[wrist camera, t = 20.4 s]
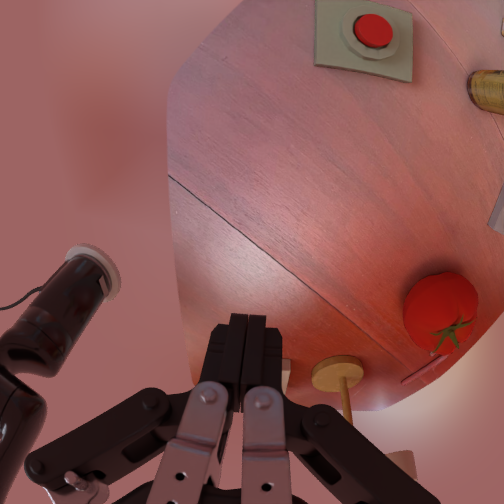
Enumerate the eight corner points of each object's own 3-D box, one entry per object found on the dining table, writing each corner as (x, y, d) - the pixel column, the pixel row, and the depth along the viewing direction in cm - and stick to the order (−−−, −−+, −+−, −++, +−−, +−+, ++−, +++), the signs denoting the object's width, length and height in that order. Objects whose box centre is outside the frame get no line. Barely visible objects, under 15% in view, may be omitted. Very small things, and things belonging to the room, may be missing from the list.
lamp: (307, 385, 58) (309, 507, 33) (316, 355, 52) (324, 499, 28) (381, 382, 57) (401, 494, 32) (398, 353, 51) (430, 479, 26)
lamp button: (354, 43, 23) (358, 41, 22) (354, 14, 21) (358, 10, 20) (387, 51, 23) (393, 49, 22) (387, 21, 21) (392, 18, 20)
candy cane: (391, 375, 56) (392, 380, 54) (444, 339, 49) (446, 344, 48) (402, 382, 57) (403, 387, 56) (452, 349, 51) (454, 353, 49)
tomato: (398, 266, 41) (426, 316, 31) (467, 254, 39) (502, 296, 29) (391, 325, 47) (408, 375, 37) (453, 311, 45) (477, 354, 35)
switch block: (313, 65, 28) (318, 61, 25) (314, -3, 23) (319, -14, 20) (404, 83, 27) (418, 82, 24) (405, 16, 22) (418, 10, 19)
